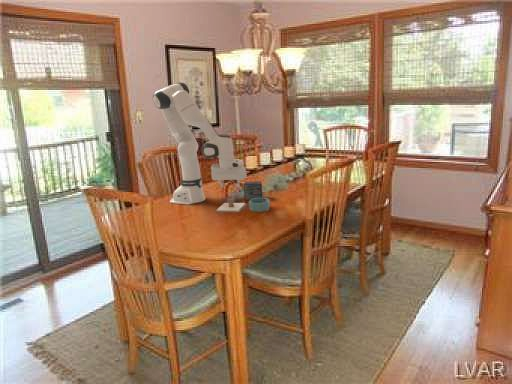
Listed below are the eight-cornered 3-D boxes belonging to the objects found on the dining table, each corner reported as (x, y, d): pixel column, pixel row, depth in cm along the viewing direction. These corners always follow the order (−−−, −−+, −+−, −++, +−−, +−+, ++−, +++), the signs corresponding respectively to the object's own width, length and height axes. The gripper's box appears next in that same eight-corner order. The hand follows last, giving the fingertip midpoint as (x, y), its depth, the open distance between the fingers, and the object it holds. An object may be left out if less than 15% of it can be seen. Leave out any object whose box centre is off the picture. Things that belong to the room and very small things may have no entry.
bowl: (247, 211, 221) (246, 203, 219) (253, 205, 231) (252, 197, 230) (266, 212, 218) (266, 203, 216) (271, 206, 228) (270, 197, 226)
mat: (214, 212, 224) (214, 211, 224) (224, 204, 238) (223, 203, 238) (239, 212, 220) (239, 212, 220) (247, 204, 234) (247, 203, 234)
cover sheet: (216, 211, 225) (216, 202, 224) (224, 203, 237) (224, 196, 236) (238, 211, 221) (237, 203, 220) (245, 204, 233) (244, 196, 232)
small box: (262, 197, 247) (261, 180, 244) (262, 200, 241) (260, 183, 238) (246, 197, 248) (244, 181, 245) (244, 200, 242) (243, 184, 239)
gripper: (208, 165, 222) (211, 189, 226) (242, 163, 216) (245, 188, 219) (212, 162, 228) (215, 186, 231) (246, 161, 221) (248, 185, 225)
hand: (230, 187), depth 225 cm, fingers open, 8 cm apart
